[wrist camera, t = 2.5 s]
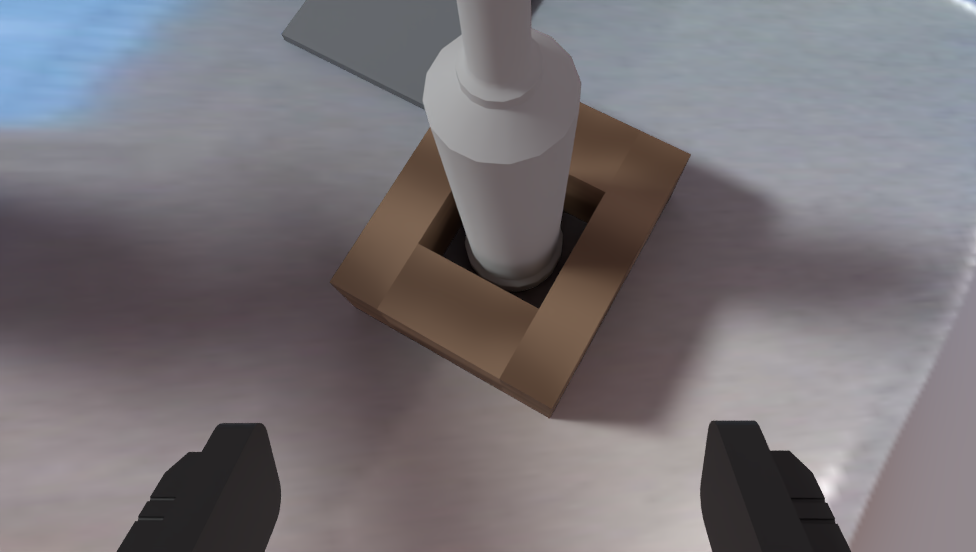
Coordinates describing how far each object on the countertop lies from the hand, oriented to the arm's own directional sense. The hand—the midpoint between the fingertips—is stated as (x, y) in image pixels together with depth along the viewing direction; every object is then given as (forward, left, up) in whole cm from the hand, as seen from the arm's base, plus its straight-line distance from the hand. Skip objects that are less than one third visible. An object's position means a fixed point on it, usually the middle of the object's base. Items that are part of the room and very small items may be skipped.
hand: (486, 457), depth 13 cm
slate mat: (+21, +19, -24) cm, 37 cm away
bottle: (+10, +6, -24) cm, 27 cm away
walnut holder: (+10, +6, -24) cm, 26 cm away
